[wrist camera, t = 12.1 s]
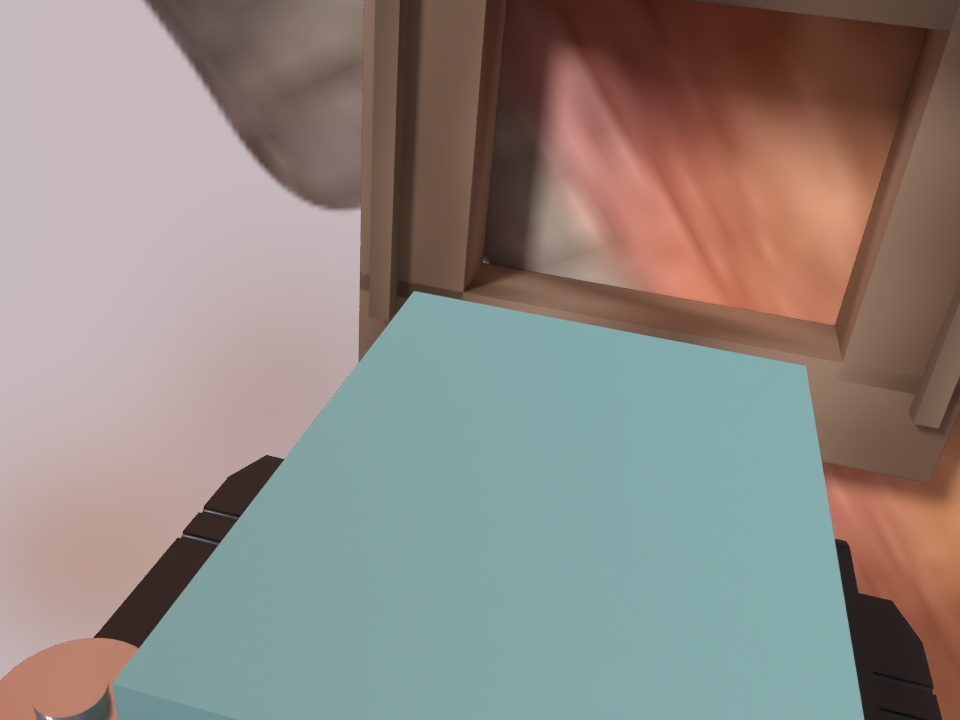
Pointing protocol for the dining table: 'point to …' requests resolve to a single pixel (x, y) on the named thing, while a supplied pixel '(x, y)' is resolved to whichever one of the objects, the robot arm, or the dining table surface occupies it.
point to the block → (524, 542)
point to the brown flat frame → (820, 347)
